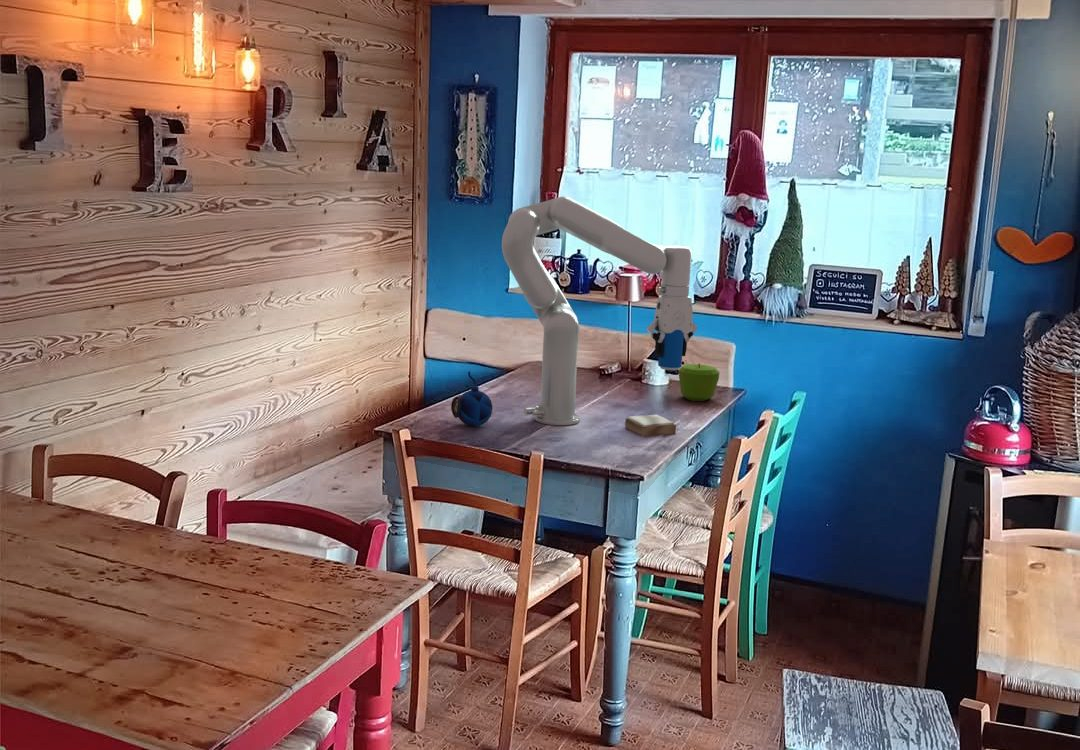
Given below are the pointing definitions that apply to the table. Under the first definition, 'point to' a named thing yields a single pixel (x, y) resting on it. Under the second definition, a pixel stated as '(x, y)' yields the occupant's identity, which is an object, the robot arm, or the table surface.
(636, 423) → the pedestal
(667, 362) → the beverage can
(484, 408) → the bomb
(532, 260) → the robot arm
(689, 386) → the apple
